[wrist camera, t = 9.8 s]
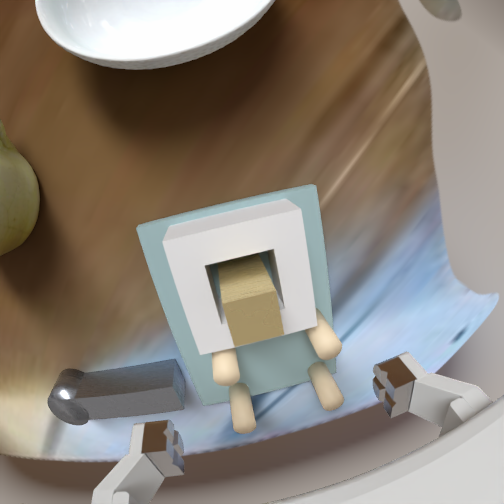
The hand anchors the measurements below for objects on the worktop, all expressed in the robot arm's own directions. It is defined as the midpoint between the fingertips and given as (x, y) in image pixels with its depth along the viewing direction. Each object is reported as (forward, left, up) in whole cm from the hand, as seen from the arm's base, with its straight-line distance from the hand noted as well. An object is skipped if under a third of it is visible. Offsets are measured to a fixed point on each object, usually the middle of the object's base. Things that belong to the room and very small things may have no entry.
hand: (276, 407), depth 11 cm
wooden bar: (0, 0, -15) cm, 15 cm away
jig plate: (0, -5, -16) cm, 17 cm away
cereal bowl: (-1, +23, -16) cm, 28 cm away
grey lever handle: (-15, -10, -16) cm, 24 cm away
